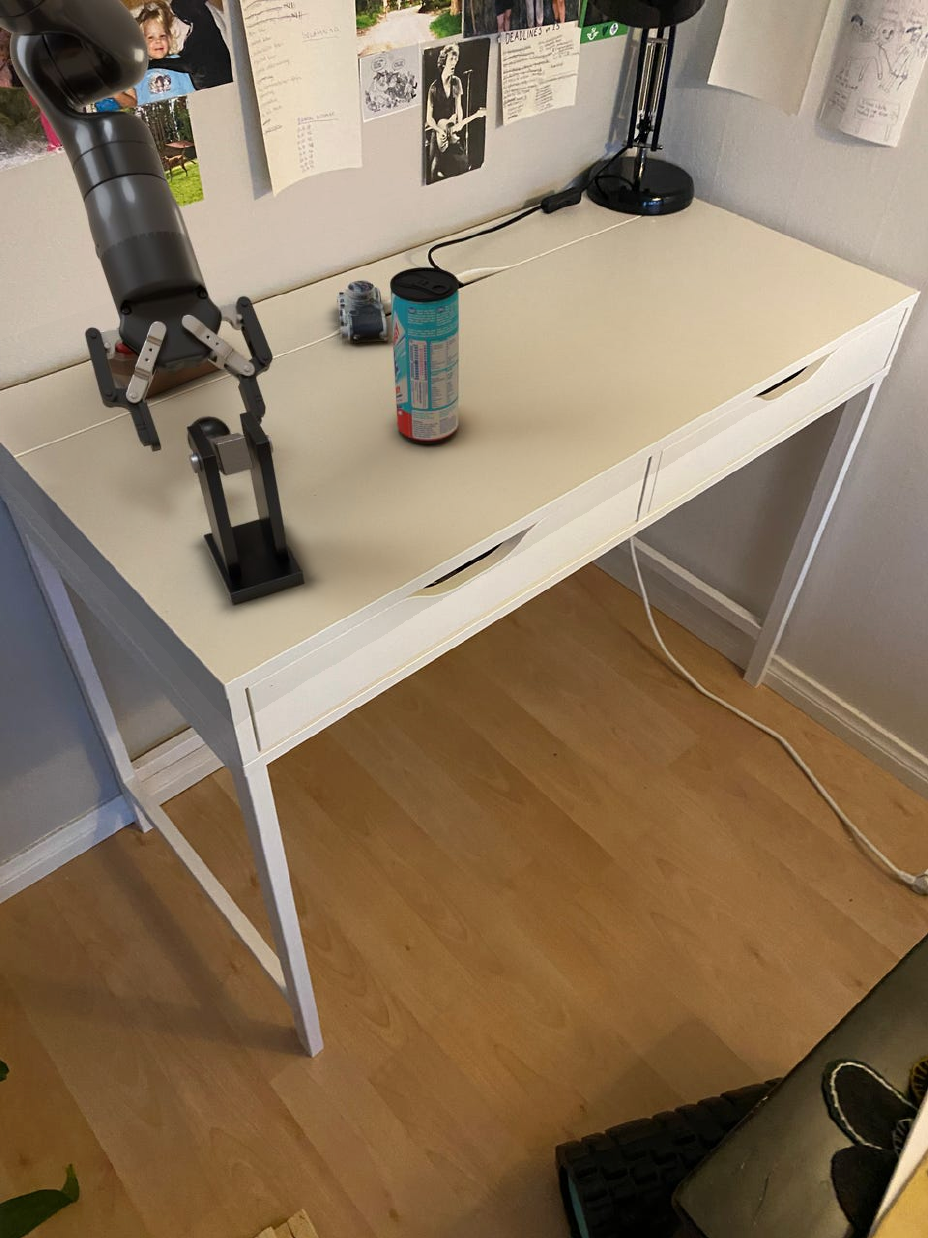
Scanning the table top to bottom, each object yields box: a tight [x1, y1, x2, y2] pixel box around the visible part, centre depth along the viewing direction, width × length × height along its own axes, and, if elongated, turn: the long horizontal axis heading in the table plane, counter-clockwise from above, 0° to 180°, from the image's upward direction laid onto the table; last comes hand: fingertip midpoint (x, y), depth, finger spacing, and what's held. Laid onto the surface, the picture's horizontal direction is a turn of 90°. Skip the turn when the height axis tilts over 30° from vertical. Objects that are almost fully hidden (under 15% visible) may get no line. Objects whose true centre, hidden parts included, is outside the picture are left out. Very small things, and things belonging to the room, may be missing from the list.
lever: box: [186, 415, 254, 477], centre depth 76 cm, size 13×4×4 cm, turn 26°
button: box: [116, 326, 134, 354], centre depth 96 cm, size 3×3×2 cm
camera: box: [336, 280, 389, 344], centre depth 106 cm, size 5×10×4 cm, turn 8°
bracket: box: [186, 411, 305, 605], centre depth 74 cm, size 8×6×13 cm
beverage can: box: [389, 266, 460, 445], centre depth 87 cm, size 6×6×15 cm
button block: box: [108, 345, 220, 399], centre depth 99 cm, size 11×7×4 cm, turn 131°
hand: (208, 436), depth 80 cm, fingers open, 8 cm apart
